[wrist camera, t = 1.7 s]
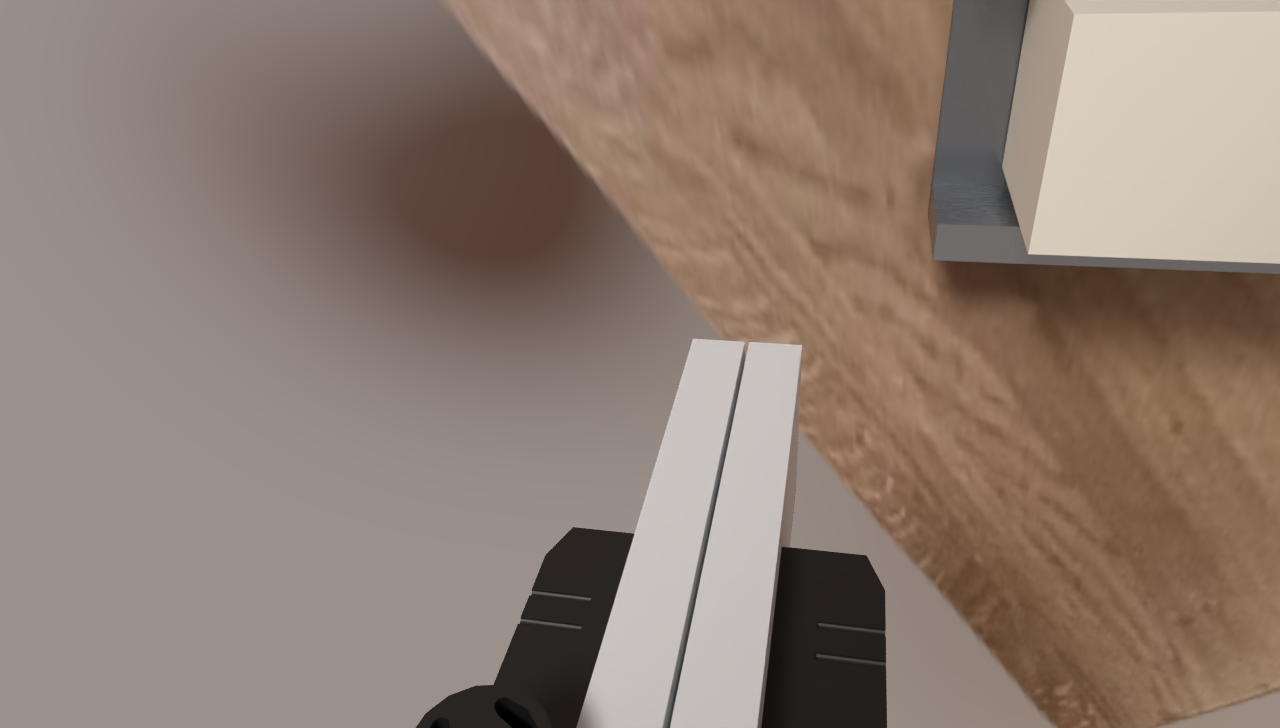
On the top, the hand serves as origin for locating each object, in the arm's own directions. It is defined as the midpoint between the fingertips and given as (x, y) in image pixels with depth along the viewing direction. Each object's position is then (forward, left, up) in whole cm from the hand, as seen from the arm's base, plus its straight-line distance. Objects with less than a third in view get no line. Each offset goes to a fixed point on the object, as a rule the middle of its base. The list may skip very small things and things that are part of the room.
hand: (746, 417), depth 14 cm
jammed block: (0, +10, -18) cm, 21 cm away
